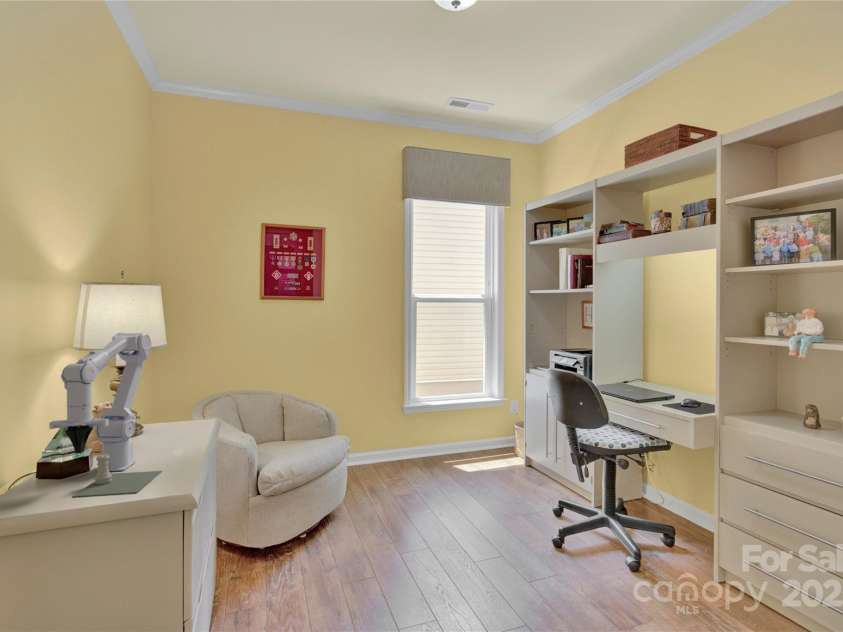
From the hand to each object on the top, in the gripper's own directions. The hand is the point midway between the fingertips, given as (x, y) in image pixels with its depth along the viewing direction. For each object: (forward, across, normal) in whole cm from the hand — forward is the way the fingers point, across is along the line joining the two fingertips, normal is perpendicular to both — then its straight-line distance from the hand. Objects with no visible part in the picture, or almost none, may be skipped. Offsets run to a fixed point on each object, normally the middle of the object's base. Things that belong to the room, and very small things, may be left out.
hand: (79, 452), depth 136 cm
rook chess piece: (+9, +6, 0) cm, 11 cm away
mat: (+9, +11, -1) cm, 14 cm away
